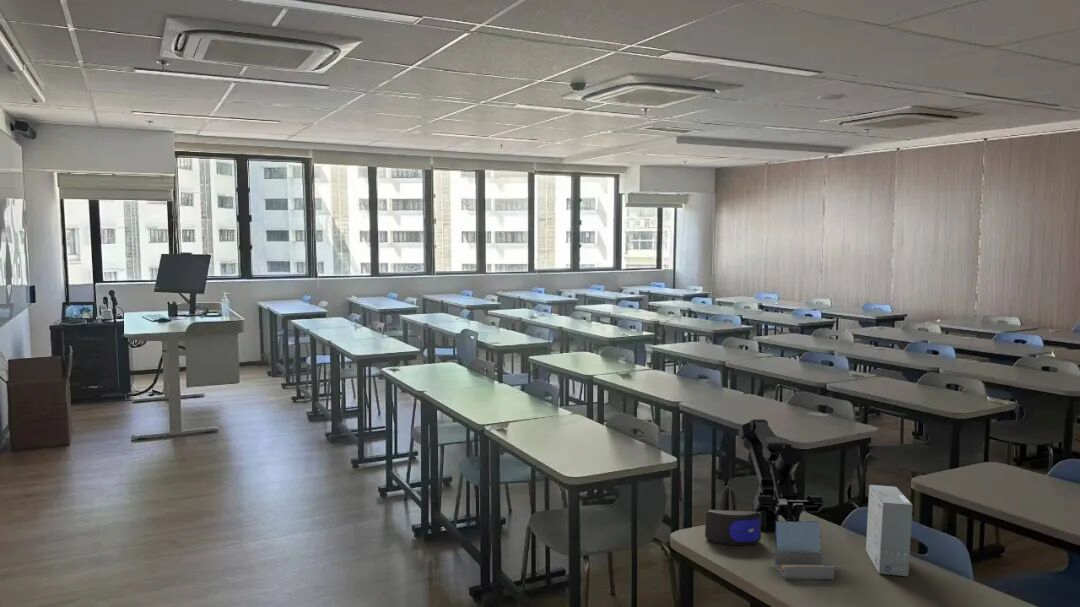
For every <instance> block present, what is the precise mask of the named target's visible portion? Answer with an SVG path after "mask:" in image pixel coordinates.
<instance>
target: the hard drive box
mask: <svg viewBox="0 0 1080 607" xmlns="http://www.w3.org/2000/svg"><path fill="white" fill-rule="evenodd" d="M913 505H914V504H912V502H911V501H910V500H909V499H908V498H907V497H906V496H905V495H904V494H903V492H901V491H900V489H899V488H898V487H897V486H891V485H889V486H888V485H878V484H877V485H876V484H869V486H868V503H867V518H866V520H867V522H866V540H865V544H866V545H865V552H866V553H867V555H868V557H869V559H870V560H871V562H872V563H873V566H874V567H875V569H876V571H877V573H878V574H881V575H891V576H899V577H901V576H902V577H909V573H910V572H909V571H910V570H909V569H910V556H911V553H910V552H911V539H912V521H913Z"/></svg>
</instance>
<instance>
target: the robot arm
mask: <svg viewBox="0 0 1080 607" xmlns="http://www.w3.org/2000/svg"><path fill="white" fill-rule="evenodd" d="M738 438H739V439H740V441H741V444H742V446H743V447H744V448H745V449H747V450H748V451H749V453H750V456H751V459H752V462H753V466H754V467H753V468H754V469H755V473H756V477H757V479H758V483H759V486H758V489H757V492H756V495H755V496H754V498H753V507H754V512H758V513H760V514H761V532H767V533H768V532H769V533H775V521H779V520H780V517H782V518H783V519H784V521H800V516H801V514H802V513H803V511H805V512H807V513H819V512H821V510H822V509H823V508H824V506H825V505H826V502H825V499H824V498H823V496H822V495H811V494H810V495H808V496H807V497H806V499H799V497H800V495H799V492H797V488H796V484H797V482H796V479H794V476H793V472H794V471H796V469H797V467H798V465H799V463H800V462H801V459H802V457H801V455H802V454H800V452H799V451H798V450H797V449H796V448H795V447H792V444H790V443H788V442H787V441H786V440H785V439H783V438H779V437H777V436H776V433H775V432H774V431H773V430H772V428H771V427H770V426H769V422H768V420H767V419H764V418H761V419H760V418H759V419H758V418H757V419H755V418H753V419H751V420H749V421H748V422H746V423H744V424H742V425H741V426H740V427H739V429H738ZM770 462H773V463H772V464H771V465H770Z"/></svg>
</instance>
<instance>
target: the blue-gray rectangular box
mask: <svg viewBox="0 0 1080 607" xmlns="http://www.w3.org/2000/svg"><path fill="white" fill-rule="evenodd" d="M820 530H821V529H820V521H817V520H815V521H808V520H807V521H806V520H804V521H801V520H799V521H786V520H784V521H783V520H782V521H781V520H780V521H775V532H774V533H775V553H821V535H820V534H821V531H820Z"/></svg>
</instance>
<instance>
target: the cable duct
mask: <svg viewBox="0 0 1080 607" xmlns="http://www.w3.org/2000/svg"><path fill="white" fill-rule="evenodd" d="M773 558H774V562H773V565H774V564H775V565H774V567H775V566H776V567H777V568H776V567H775V568H776V569H777V571H778V570H779V571H780V572H779V571H778V572H779V574H780V573H781V574H782V575H781V574H780V575H781V577H782V578H783V577H784V578H785V579H832V580H831V581H834V579H835V578H834V577H835V566H833V565H832V566H831V565H824V564H823V553H822V552H774V556H773ZM784 578H783V579H784ZM785 579H784V580H785Z"/></svg>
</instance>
